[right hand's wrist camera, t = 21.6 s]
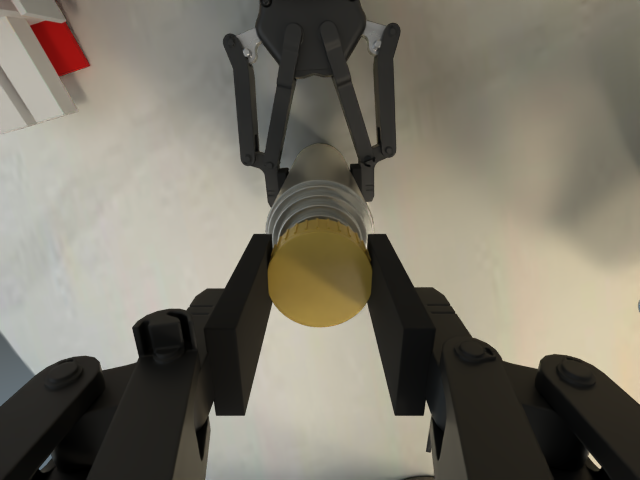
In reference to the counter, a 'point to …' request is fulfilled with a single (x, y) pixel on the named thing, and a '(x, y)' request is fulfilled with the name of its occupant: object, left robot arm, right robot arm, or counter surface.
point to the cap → (319, 273)
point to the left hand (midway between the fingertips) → (323, 236)
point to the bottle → (319, 194)
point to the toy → (35, 63)
